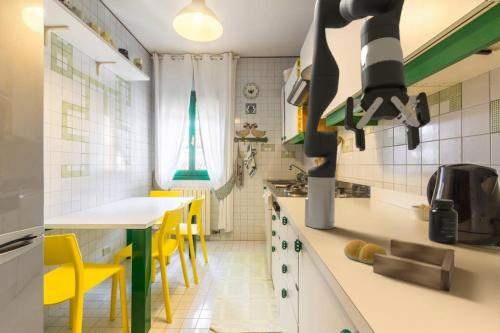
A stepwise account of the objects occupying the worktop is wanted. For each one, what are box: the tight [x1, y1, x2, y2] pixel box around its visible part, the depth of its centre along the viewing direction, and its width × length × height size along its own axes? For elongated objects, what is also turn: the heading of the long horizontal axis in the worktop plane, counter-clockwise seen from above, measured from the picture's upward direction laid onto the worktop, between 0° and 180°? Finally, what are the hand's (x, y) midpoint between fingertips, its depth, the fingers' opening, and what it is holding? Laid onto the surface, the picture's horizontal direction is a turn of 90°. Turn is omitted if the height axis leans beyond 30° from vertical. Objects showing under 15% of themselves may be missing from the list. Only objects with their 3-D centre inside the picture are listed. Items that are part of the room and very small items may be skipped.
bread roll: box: [343, 239, 388, 265], centre depth 61 cm, size 8×9×4 cm
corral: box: [372, 238, 455, 292], centre depth 55 cm, size 12×15×4 cm
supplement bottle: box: [427, 198, 459, 245], centre depth 76 cm, size 7×7×12 cm
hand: (386, 149), depth 49 cm, fingers open, 8 cm apart
